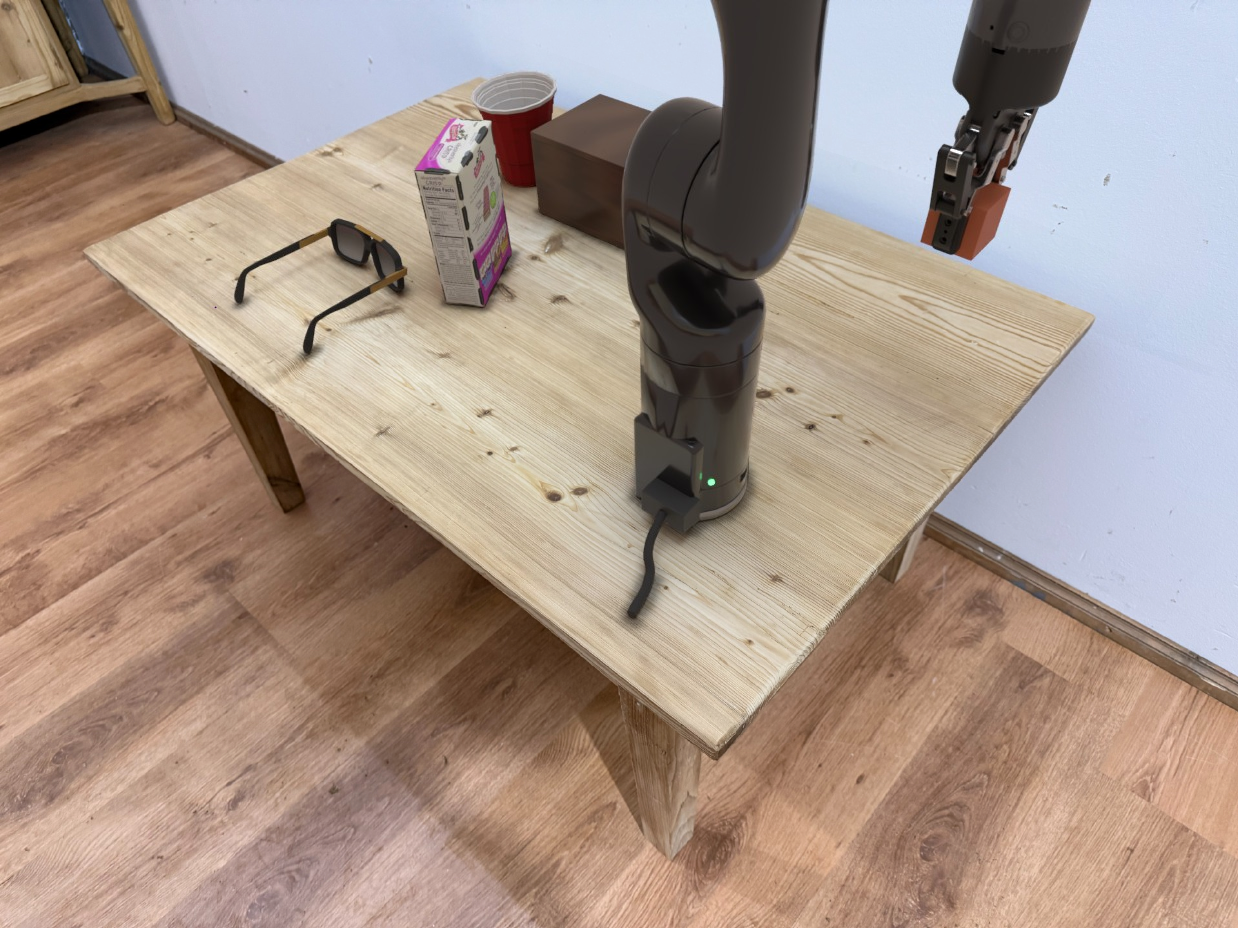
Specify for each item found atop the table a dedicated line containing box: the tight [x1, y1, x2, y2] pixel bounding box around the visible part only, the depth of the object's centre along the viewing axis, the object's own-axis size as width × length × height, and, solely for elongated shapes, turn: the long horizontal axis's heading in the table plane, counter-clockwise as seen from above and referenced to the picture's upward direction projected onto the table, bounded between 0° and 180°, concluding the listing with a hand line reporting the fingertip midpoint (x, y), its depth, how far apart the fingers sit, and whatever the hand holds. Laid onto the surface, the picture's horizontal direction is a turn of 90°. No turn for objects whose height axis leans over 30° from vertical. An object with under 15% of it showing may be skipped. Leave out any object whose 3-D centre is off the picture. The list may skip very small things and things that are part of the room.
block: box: [919, 182, 1012, 262], centre depth 71 cm, size 5×5×5 cm
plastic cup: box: [471, 70, 558, 188], centre depth 109 cm, size 11×11×12 cm
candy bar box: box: [413, 117, 513, 308], centre depth 92 cm, size 11×5×16 cm, turn 168°
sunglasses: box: [233, 218, 408, 355], centre depth 94 cm, size 14×15×5 cm
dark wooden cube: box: [531, 93, 653, 251], centre depth 103 cm, size 15×13×11 cm
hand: (958, 236), depth 72 cm, fingers closed on block, 4 cm apart
